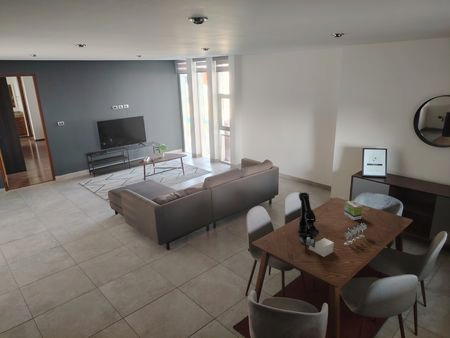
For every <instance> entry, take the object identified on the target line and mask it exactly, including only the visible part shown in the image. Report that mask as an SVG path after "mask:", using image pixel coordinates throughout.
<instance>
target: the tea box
mask: <svg viewBox="0 0 450 338" xmlns="http://www.w3.org/2000/svg"><path fill="white" fill-rule="evenodd" d="M343 213H344V215H345V216H346V217H348V218H350V219H351V220H353V221H356V220H361V219H362V216H363V205H362V204H360V203H358V202H356V201H354V200H348V201H345V202H344V212H343Z"/></svg>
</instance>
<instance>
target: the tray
mask: <svg viewBox="0 0 450 338" xmlns="http://www.w3.org/2000/svg"><path fill="white" fill-rule="evenodd" d="M299 242H300V243H301V244H304V245H306V246H307V247H309V246H312V247H314V248H315V243H316V242H317V241H315V240H314V238H313V239H311V236H309V237H308V236H307V239H306V243H304V242H303V240H302V238H301V237H300V238H299Z"/></svg>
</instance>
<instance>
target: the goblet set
mask: <svg viewBox="0 0 450 338" xmlns="http://www.w3.org/2000/svg"><path fill="white" fill-rule="evenodd" d="M367 228H368V227H367V224H366V223H364V222H361V223H360V224H359V223H358V224H357V225H353V227H350V226H349V227H348V230H345V231H344V237H345V238H346V240H347V241H345V242H344V243H343V244H344V245H345V246H350V244H354V242H357V241H356V239H357V240H360V239H362V238H365V237H366V236H365V235H364V234H363V232H364V230H366V229H367ZM360 231H361V234H360ZM357 232H358V234H357ZM356 234H357V236H355V237H354V238H352V236H354V235H356ZM349 238H351V239H349ZM353 240H354V241H353Z"/></svg>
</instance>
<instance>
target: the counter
mask: <svg viewBox="0 0 450 338" xmlns="http://www.w3.org/2000/svg"><path fill="white" fill-rule="evenodd" d="M315 242H316V243H315V247H312V246H308V249H309V250H310V251H312V252H314V253H315V254H318V255H320V256H321V257H323V258H324V257H326V256H329V255H330V254H332V253H334V246H335V245H334V244H335V243H334V241H331V240H329V239H327V238H325V237H323V238H322V239H319V240H318V241H315Z"/></svg>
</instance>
